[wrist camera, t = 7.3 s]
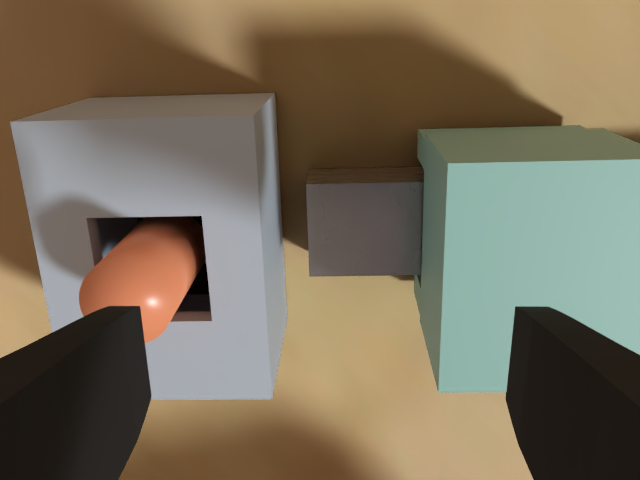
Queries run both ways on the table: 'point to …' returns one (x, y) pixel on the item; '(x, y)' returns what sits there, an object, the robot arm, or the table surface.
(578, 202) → the block
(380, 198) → the rail
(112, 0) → the table surface
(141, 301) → the orange rounded knob
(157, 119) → the end cabinet
